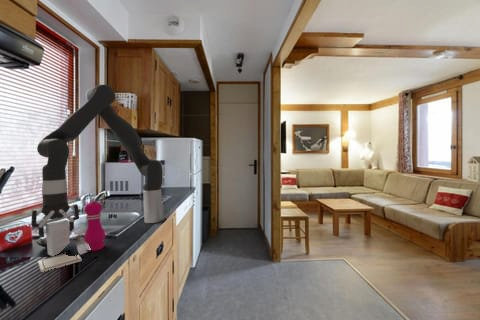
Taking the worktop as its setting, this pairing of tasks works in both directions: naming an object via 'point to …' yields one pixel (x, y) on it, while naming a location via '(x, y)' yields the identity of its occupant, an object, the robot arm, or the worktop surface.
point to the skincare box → (57, 236)
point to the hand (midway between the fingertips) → (56, 234)
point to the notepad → (57, 262)
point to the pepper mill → (94, 226)
